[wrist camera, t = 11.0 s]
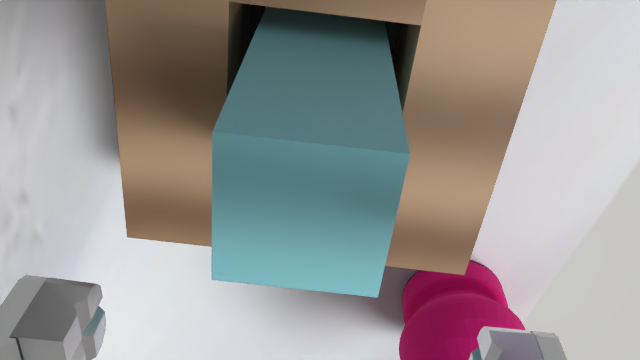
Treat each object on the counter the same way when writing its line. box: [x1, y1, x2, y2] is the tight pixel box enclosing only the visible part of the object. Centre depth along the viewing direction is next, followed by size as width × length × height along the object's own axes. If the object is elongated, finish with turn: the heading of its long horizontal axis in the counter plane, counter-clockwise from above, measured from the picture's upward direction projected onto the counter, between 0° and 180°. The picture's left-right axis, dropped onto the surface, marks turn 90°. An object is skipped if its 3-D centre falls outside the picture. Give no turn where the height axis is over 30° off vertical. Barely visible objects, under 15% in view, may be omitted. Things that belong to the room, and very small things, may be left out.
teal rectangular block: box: [212, 6, 410, 298], centre depth 21 cm, size 5×5×14 cm
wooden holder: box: [105, 0, 556, 275], centre depth 25 cm, size 16×16×6 cm
